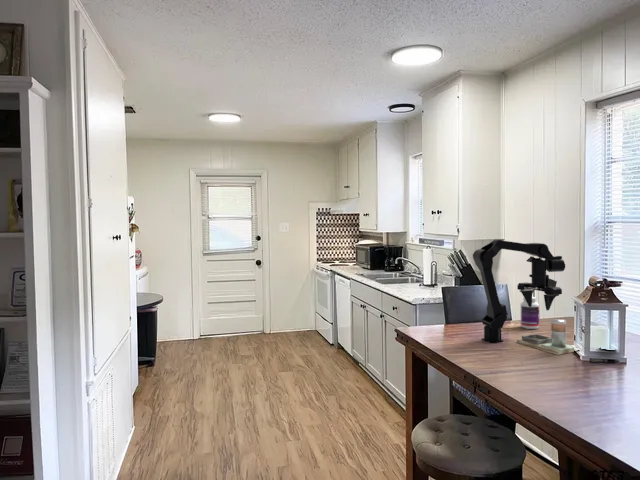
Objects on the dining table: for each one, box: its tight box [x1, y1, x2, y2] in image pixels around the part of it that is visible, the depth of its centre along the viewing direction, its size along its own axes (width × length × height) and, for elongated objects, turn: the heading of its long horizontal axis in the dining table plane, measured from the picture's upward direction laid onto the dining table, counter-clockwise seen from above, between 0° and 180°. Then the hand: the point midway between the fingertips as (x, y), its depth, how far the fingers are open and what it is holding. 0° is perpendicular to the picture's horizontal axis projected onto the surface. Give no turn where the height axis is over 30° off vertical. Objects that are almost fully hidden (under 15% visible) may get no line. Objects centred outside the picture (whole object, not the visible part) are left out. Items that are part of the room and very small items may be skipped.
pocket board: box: [516, 333, 575, 356], centre depth 188 cm, size 12×20×3 cm, turn 23°
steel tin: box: [550, 318, 567, 347], centre depth 182 cm, size 5×5×10 cm
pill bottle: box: [520, 296, 540, 330], centre depth 219 cm, size 8×8×14 cm
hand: (538, 308), depth 199 cm, fingers open, 9 cm apart
